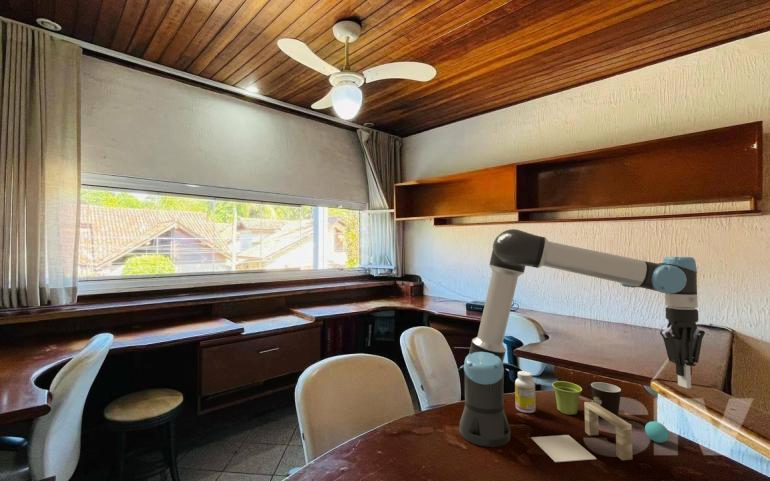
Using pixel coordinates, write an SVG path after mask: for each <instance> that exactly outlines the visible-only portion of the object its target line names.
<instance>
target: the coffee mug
mask: <svg viewBox="0 0 770 481" xmlns="http://www.w3.org/2000/svg"><path fill="white" fill-rule="evenodd" d="M589 387H590V388H591V392H590V389H589ZM586 390H587V393H588V395H589V396H590V398H591V399H592V402H595V403H596V404H598V405H600V406H601V407H603V408H605V409H606V410H608V411H609V412H611V413H613V414H614V415H616V416H618V417H619V411H620V402H621V393H622V389H621V388H620V387H619V386H617V385H615V384H611V383H607V382H600V381H599V382H597V381H596V382H595V381H594V382H591V383H588V384H586ZM598 419H600V420H603V421H605V422H606V421H607V420H605V419H604V418H602V417H601V416H599V415H598ZM607 422H608V421H607Z"/></svg>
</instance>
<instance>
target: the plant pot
mask: <svg viewBox="0 0 770 481" xmlns="http://www.w3.org/2000/svg"><path fill="white" fill-rule="evenodd" d="M551 386H552V388H553V391H554V393H555V394H554V395H555V400H556V408H557V410H558V411H559V412H560V413H562V414H564V415H568V416H569V415H577V413H578V408H579V401H580V395H581V393H582V391H583V388H582V387H581V386H580V385H578V384H575V383H573V382H569V381H563V380H562V381H561V380H559V381H554V382H552V384H551Z"/></svg>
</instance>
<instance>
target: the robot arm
mask: <svg viewBox="0 0 770 481" xmlns="http://www.w3.org/2000/svg"><path fill="white" fill-rule="evenodd" d="M489 267H490V269H491V270H492V271H491V277H490V280H489V285H488V289H487V294H486V298H485V303H484V307H483V312H482V315H481V319H480V324H479V328H478V333H477V336H476V337H474V338H472V339H471V343H470V348H469V353H468V354H467V355H466V356H465V359H464V364H463V371H464V408H463V412H462V415H461V417H460V421H459V434H460V435H461V437H462V438H463V439H464V440H466V442H467V441H468V442H469V443H472V444H474V445H477V446H480V447H487V448H495V447H501V446H505V445H507V444H509V442H510V440H511V428H510V424H509V422H508V418H507V416H506V414H505V404H504V401H505V398H504V396H505V395H504V393H505V392H504V373H505V368H504V360H505V355H506V351H507V349H506V347H505V346H504V344H503V343H504V338H505V335H506V331H507V326H508V322H509V318H510V313H511V309H512V304H513V299H514V296H515V292H516V291H515V290H516V287H517V283H518V278H519V277H520V276H522V275H524V273H525V270H526V267H531V268H536V269H540V268H541V267H547V268H551V269H555V270H556V269H557V270H560V271H565V272H569V273H573V274H574V273H575V274H578V275H579V274H580V275H583V276H587V277H592V278H596V279H601V280H607V281H610V282H614V283H615V282H616V283H620V286H622V287H624V288H632V289H634V288H641V289H646V290H649V291H650V290H651V291H654V292H655V291H656V292H658V293H662V294H664V304H665V306H666V308H665V310H664V311H665V319H666V320H667V321H668V323H667V326H666V329H665V330H660V331H659V335H660V336H661V337H662V339H663V342H664V347H665V349H666V350H665V351H666V355H667V358H668V361H669V362H671V363H673V364H675V374H676V375H677V386H679V387H683V388H684V389H692V377H691V376H692V375H693V373H692V372H693V371H692V370H693V368H692V367H695V366H696V364H697V363H699V360H700V354H701V347H702V341H703V338H704V336H705V334H706V331H705V330H700V329H699V328H698V325H697V323H698V322H699V320H700V319H699V310H698V309H697V308H698V306H699V305H698V278H697V277H698V275H697V274H698V270H697V264H696V260H695V258H694V257H691V256H665V257H663V261H662V262H659V263H656V262H652V261H647V260H646V261H645V260H642V259H637V258H632V257H628V256H622V255H617V254H613V253H611V254H610V253H606V252H603V251H597V250H592V249H589V248H588V249H587V248H582V247H579V246H573V245H568V244H564V243H563V244H562V243H558V242H552V241H549V240H548V239H547V237H546V236H539V235H536V234H533V233H528V232H526V231H524V230H520V229H515V228H510V229H507V230H504V231H502V232H500V233H499V234H498V235H497V236H496V238H495V239H494V241H493V244H492V251H491V255H490V260H489Z"/></svg>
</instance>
